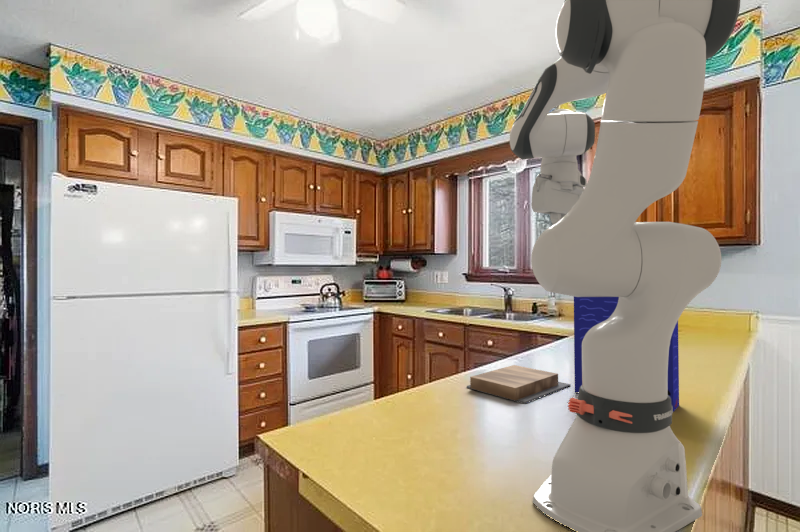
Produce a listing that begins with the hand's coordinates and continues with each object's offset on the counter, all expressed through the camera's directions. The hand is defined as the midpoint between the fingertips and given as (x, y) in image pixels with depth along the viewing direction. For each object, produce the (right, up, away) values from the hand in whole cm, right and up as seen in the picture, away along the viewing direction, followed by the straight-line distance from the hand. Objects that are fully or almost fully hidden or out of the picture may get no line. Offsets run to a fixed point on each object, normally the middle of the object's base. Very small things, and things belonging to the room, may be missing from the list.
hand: (559, 232), depth 105 cm
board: (-17, -39, +1) cm, 43 cm away
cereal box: (+15, -41, -2) cm, 44 cm away
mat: (-8, -41, +9) cm, 43 cm away
